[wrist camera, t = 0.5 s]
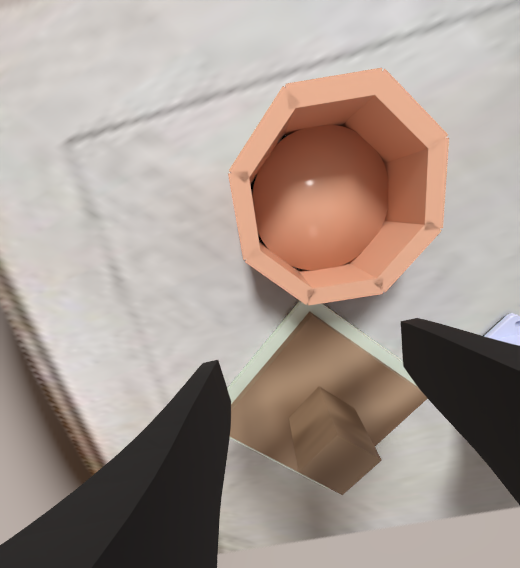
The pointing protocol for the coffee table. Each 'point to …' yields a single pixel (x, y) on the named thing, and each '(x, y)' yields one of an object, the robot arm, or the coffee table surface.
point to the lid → (322, 406)
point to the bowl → (340, 186)
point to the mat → (287, 328)
